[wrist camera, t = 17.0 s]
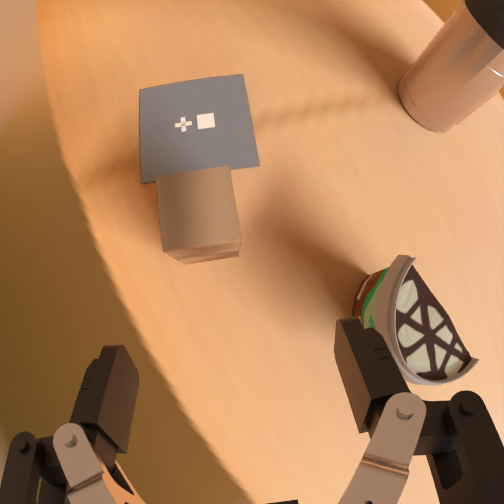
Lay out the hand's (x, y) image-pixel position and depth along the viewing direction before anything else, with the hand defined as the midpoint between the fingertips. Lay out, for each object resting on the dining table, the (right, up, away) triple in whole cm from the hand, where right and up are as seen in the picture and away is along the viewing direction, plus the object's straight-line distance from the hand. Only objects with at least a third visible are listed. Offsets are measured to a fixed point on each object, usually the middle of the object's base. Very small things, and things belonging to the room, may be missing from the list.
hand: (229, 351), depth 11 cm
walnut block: (-3, +5, +19) cm, 20 cm away
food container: (+13, -4, +19) cm, 23 cm away
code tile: (-5, +17, +20) cm, 27 cm away
